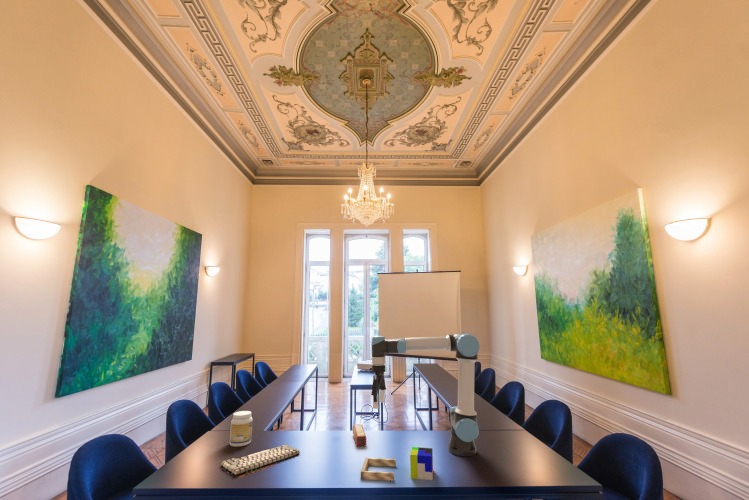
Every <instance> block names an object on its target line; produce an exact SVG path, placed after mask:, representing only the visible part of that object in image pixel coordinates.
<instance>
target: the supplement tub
mask: <svg viewBox="0 0 749 500" xmlns="http://www.w3.org/2000/svg"><path fill="white" fill-rule="evenodd" d="M252 433H253V417H252V411H251V410H240V411H235V412H234V413H233V414H232V419H231V421H230V432H229V445H230V446H231V447H236V448H237V447H238V448H239V447H243V446H247V445H249V444H250V443H251V442H252Z"/></svg>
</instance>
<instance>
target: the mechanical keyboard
mask: <svg viewBox="0 0 749 500" xmlns="http://www.w3.org/2000/svg"><path fill="white" fill-rule="evenodd" d="M299 456H300V449H298V448H295V447H292V446H289V445H287V444H282V445H280V446H276V447H273V448H270V449H265V450H261V451H259V452H255V453H251V454H248V455H247V456H242V457H240V458H239V457H238V458H235V457H232V458H230V459H227V460H223V461H222V462H221V464H220V465H221V466H219V468H221V469H222V470H223V472H224V473H227V474H229V475H230V476H232V477H234V478H239V479H240V478H242V477H246V476H248V475H252V474H253V473H257V472H260V471H262V470H265V469H266V468H269V467H272V466H274V465H277V464H278V463H280V462H283V461H286V460H289V459H293V458H296V457H299Z"/></svg>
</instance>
